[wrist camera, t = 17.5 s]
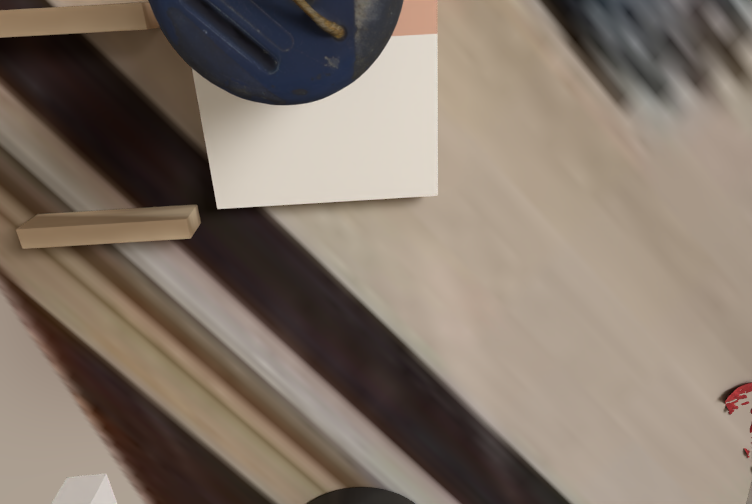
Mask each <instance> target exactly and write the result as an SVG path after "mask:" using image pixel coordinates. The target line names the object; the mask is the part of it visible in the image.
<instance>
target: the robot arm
mask: <svg viewBox="0 0 752 504" xmlns="http://www.w3.org/2000/svg"><path fill="white" fill-rule="evenodd" d="M52 504H117V501H116V499H115V496H114V493H113V490H112V488H111V485H110V482H109V479H108V477H107V474H106V473H105V474H95V475H85V476H75V477H67V478H66V480H65V481H64V483H63V485H62V487H61V488H60V490H59V491H58V493H57V495H56V496H55V498H54V500H53V501H52ZM309 504H415V503H413V502H412V501H410V500H409V499H407V498H405V497H403V496H401V495H399V494H396V493H394V492H391V491H387V490H383V489H377V488H348V489H342V490H338V491H334V492H331V493H328V494H325V495H323V496H321V497H319V498H317V499H315V500H313V501H312V502H310V503H309ZM746 504H752V482H751V486H750V490H749V494H748V498H747V502H746Z"/></svg>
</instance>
